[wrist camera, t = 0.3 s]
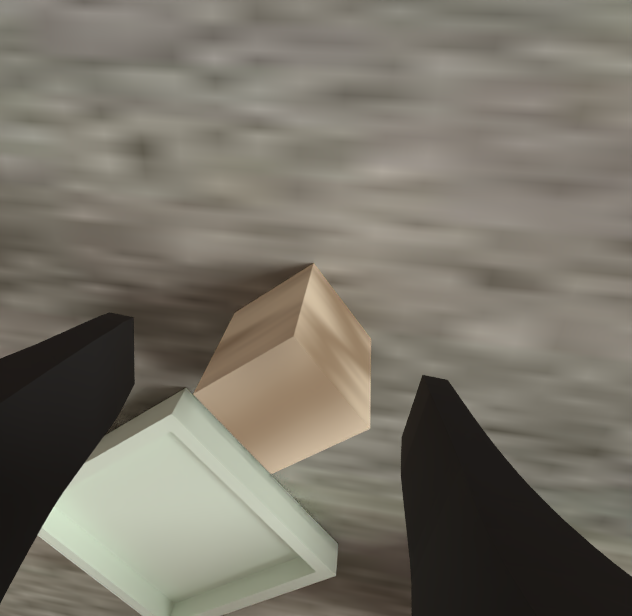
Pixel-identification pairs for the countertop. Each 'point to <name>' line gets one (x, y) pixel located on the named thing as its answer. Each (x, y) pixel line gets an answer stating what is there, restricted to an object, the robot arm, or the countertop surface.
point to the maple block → (291, 373)
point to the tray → (185, 518)
